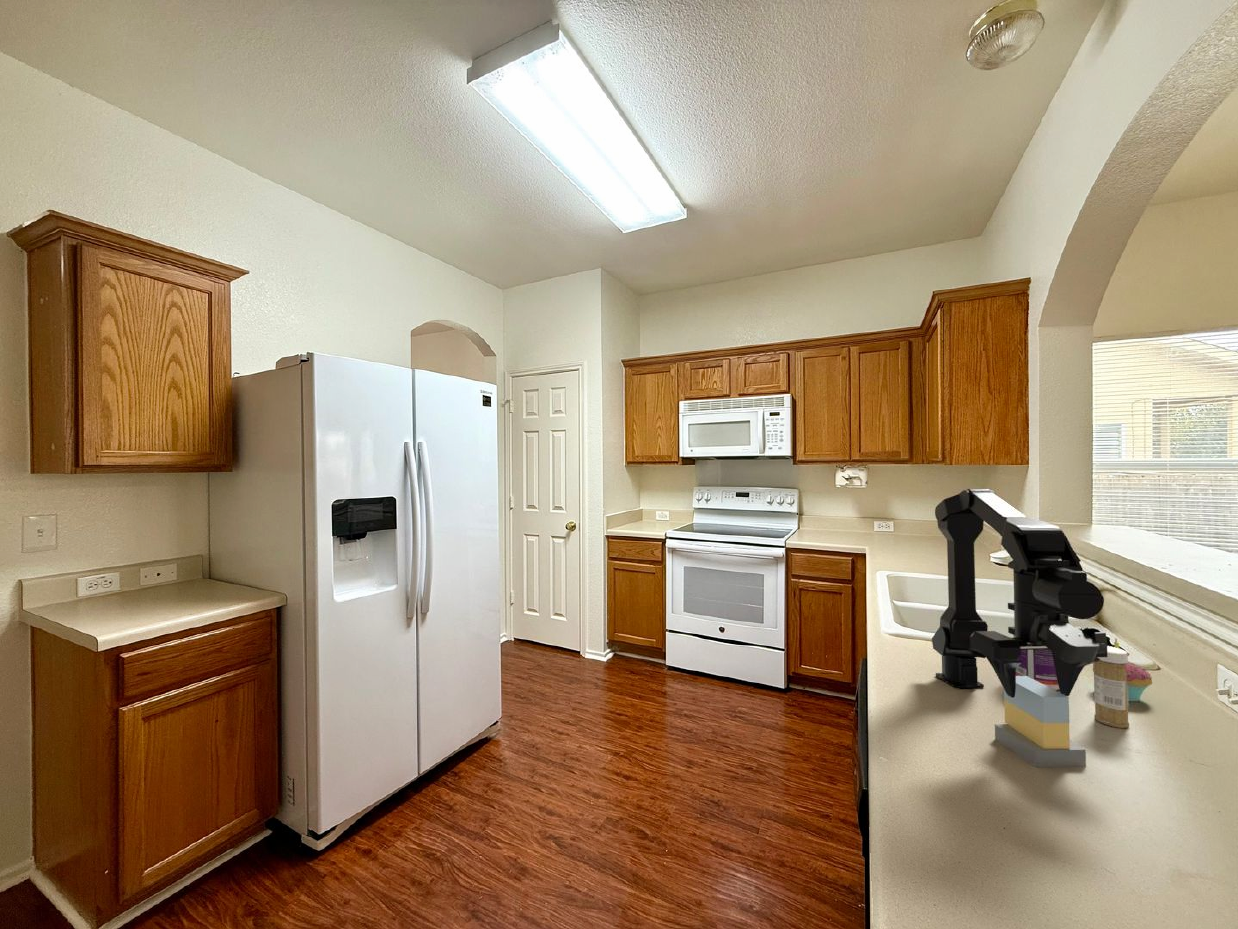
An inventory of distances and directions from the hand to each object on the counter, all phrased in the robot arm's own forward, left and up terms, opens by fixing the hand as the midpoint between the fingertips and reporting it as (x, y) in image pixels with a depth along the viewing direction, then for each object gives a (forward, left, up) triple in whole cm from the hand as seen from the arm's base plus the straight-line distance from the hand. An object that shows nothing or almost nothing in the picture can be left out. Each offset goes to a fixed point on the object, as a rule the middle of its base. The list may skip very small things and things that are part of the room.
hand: (1037, 696), depth 81 cm
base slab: (0, 0, -10) cm, 10 cm away
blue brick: (0, 0, -2) cm, 3 cm away
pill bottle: (-24, +22, -9) cm, 34 cm away
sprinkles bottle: (-8, +21, -9) cm, 24 cm away
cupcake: (-18, +34, -9) cm, 40 cm away
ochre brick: (0, 0, -6) cm, 7 cm away
